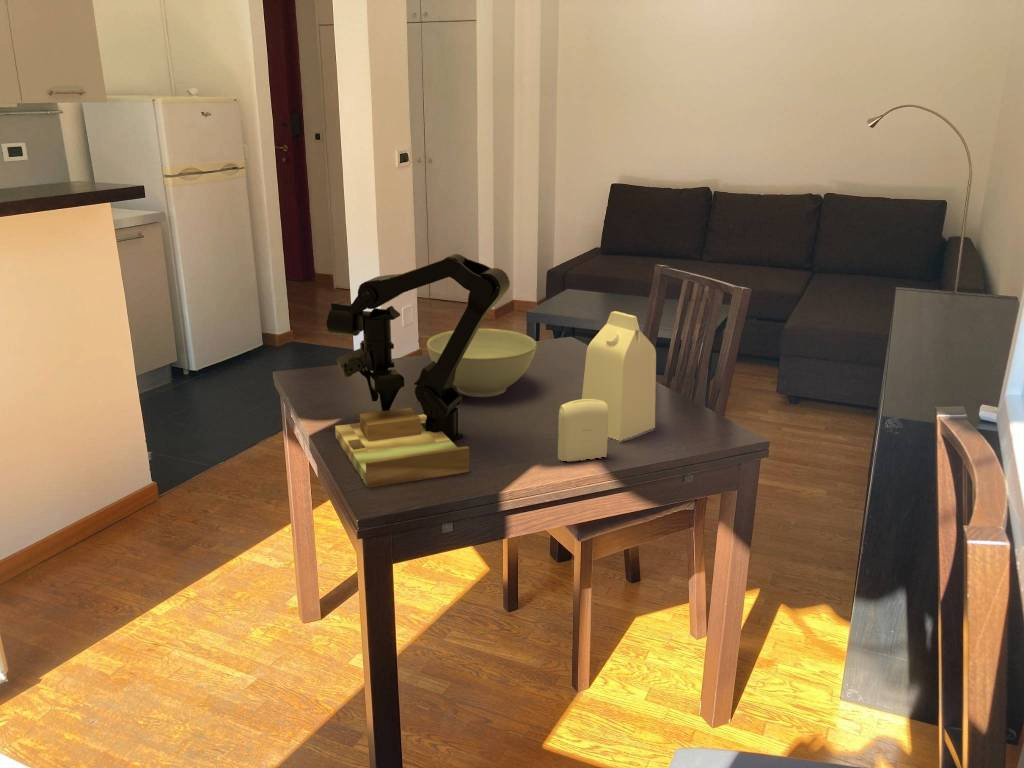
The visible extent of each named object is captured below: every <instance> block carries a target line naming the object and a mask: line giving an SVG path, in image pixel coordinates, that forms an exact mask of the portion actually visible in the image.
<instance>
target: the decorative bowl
mask: <svg viewBox="0 0 1024 768" xmlns="http://www.w3.org/2000/svg"><path fill="white" fill-rule="evenodd" d="M454 330H455V329H454ZM454 330H449V331H445V332H441V333H437V334H436V335H432V336H431V337H430V338H429V339H428V340H427V342H426V348H427V353H428V354H429V358H430V359H431V362H432V361H434V362H436V363H437V361H438V359H439V358H440V356H441V354H442V352H443V350H444V349H445V347H446V345H447V343H448V341H449V339H450V338H451V336H452V334H453V332H454ZM537 345H538V344H537V341H536V340H535V339H534V338H533V337H531V336H529V335H527V334H524V333H521V332H517V331H513V330H507V329H498V328H478V330H477V332H476V334H475V336H474V337H473V339H472V341H471V343H470V345H469V346H468V348H467V350H466V352H465V353H464V355H463V357H462V359H461V361H460V362H459V364H458V366H457V368H456V373H455V379H454V382H453V385H452V386H453V387H455V388H456V390H457V392H458V393H459V394H460V395H465V396H468V397H474V398H489V397H490V398H491V397H495V396H499V395H501V394H504V393H506V391H507V388H508V387H511V385H513V384H514V383H516V382H517V381H518V380H519V379H520V378H521V377H522V376H523V375H524V374H525V373H526V371H527V370H528V368H529V367H530V365H531V364H532V361H533V358H534V356H535V354H536V350H537Z"/></svg>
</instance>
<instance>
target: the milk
mask: <svg viewBox="0 0 1024 768" xmlns="http://www.w3.org/2000/svg"><path fill="white" fill-rule="evenodd" d="M585 355H586V356H585V365H584V376H583V384H582V394H581V399H595V400H601V401H604V402H605V403H606V404H607V406H608V412H609V416H608V437H610V438H613V439H616V440H619V441H621V440H623V439H626V438H628V437H632V436H634V435H637V434H639V433H642V432H644V431H647V430H649V429H652V428H655V429H656V388H657V387H656V381H657V350H656V348H655V346H654V345H653V343H652V342H651V341H650V340H649V339H648V338H647V336H645V334H643V332H642V331H641V330H640V326H639V323H638V318H637V316H636V315H633V314H628V313H626V312H621V311H616V310H614V311H611V312H610V313H609V316H608V319H607V321H606V323H605V325H604V326H603V327H602V328H601V329H600V330H599V332H598V333H597V334H596V335H595V336H594V337H593V339H592V340H591V341H590V343H589V344H588V346H587V349H586V353H585Z"/></svg>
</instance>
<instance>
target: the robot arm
mask: <svg viewBox="0 0 1024 768" xmlns="http://www.w3.org/2000/svg"><path fill="white" fill-rule="evenodd" d="M448 278H450V279H453V281H455V282H456V283H458V284H459V285H460V286H461V287H463V288H464V289H465V290H467V291H469V293H468V295H467V302H466V308H465V310H464V312H463V314H462V316H461V318H460V320H459V321H458V323H457V325H456V327H455V328H454V332H453V334H452V336H451V338H450V339H449V341H448V343H447V345H446V347H445V349H444V350H443V352H442V354H441V356H440V358H439V359H438V361H437V363H436V362H434V361H432V360H431V362H430V363H428V364H427V365H426V366H424V367H422V369H421V372H420V374H419V376H418V377H419V378H418V379H417V381H415V382H414V383H413V384H414V386H416V387H415V388H414V395H415V398H416V399H417V401H418V402H419V404H420V407H421V409H422V411H423V414H425V415H426V416H427V419H426V431H430V432H433V433H436V432H443V433H444V434H445V435H446V436H447V437H448V438H449V439H450V440H451V441H452V442H453V441H456V440H459V439H462V438H463V437H464V434H463V433H460V432H459V408H458V406H459V405H460V404H461V402H462V399H463V396H462V394H461V393H460V392H458V391H457V388H456V387H455V386H454V385H453V382H454V379H455V373H456V368H457V366H458V364H459V362H460V361H461V359H462V357H463V355H464V353H465V352H466V350H467V348H468V346H469V345H470V343H471V341H472V339H473V337H474V336H475V334H476V332H477V330H478V329H480V326H481V324H482V323H483V321H484V319H485V318H486V315H487V314H489V312H490V311H491V310H493V308H494V307H495V306H496V305H497V304H498V302H500V300H501V299H502V298H503V296H504V295H505V294H506V293H507V292H508V290H509V288H510V282H511V281H510V280H509V276H508V275H507V273H506V272H505V271H504V270H502V269H500V268H499V267H489V266H488V265H486V264H484V263H481V262H478V261H474V260H471V259H469V258H467V257H465V256H463V255H462V254H460V253H459V254H458V253H453V254H451V255H448V256H447V257H445V258H442V259H440V260H437V261H434V262H432V263H429V264H426V265H423V266H420V267H418V268H414V269H412V270H409V271H405V272H404V273H396V274H385V275H380V276H375V277H373V278H371V279H369V280H367V281H364V282H362V283H361V284H360V285H359V286H358V290H357V296H356V297H355V299H354V300H353V302H352V303H348V302H344V301H343V302H342V301H333V302H332V303H331V304H330V310H329V312H328V315H327V319H326V328H327V330H328V331H327V332H328V333H330V334H333V335H334V334H335V335H343V336H352V337H357V336H359V335H360V333H361V332H362V333H363V340H361V342H359V346H360V347H359V348H357V349H355V350H354V349H353V350H352V351H350V352H348V353H347V352H346V354H343V355H341V356H338V357H337V358H336V362H337V364H338V366H339V369H340V372H341V373H342V375H343V376H344V378H349V377H351V376H353V374H356V373H358V372H359V373H360V374H361V376H363V377H364V378H365V382H366V384H367V389H368V391H369V395H370V398H371V401H372V402H377V401H378V400H379V405H380V411H387V410H391V407H392V405H393V403H394V401H395V399H396V396H397V395H398V393H399V391H400V390H401V389H402V388H404V387H405V377H404V376H403V375H402V374H401V373H400V372H399V371H398V370H397V369H393V368H395V362H394V361H393V360H392V359H393V357H392V350H394V349H395V344H394V343H393V342H392V327H391V326H392V324H391V322H392V321H394V320H396V319H397V318H399V317H401V313H400V312H399V311H398V310H396V309H395V307H394V306H392V305H390V306H389V307H386V308H380V307H382V305H385V304H387V303H389V302H390V301H393V300H394V299H396V298H398V297H399V296H401V295H402V294H404V293H406V292H409V291H411V290H416V289H418V288H421V287H424V286H427V285H430V284H433V283H436V282H438V281H441V280H444V279H448ZM378 307H379V308H378ZM366 309H368V310H371V311H368V310H367V311H366Z"/></svg>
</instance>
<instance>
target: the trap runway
mask: <svg viewBox="0 0 1024 768" xmlns="http://www.w3.org/2000/svg"><path fill="white" fill-rule="evenodd" d="M417 415H418V416H419V417H420V418H421V434H419V435H412V436H405V437H398V438H390V439H383V440H376V441H368V440H367V439H366V437H365V436H364V434H363V433H362V431H361V430H360V422H354V423H349V424H348V423H347V424H340V425H334V429H335V438H336V440H337V441H339V442H338V443H339V445H340V446H341V448H342V449H343V452H344V453H345V455H346V456H347V457H348V459H349V460H350V462H351V464H352V466H353V467H354V468H355V470H356V471H357V473H358V475H359V477H360V478H361V480H362V479H363V480H362V481H363V483H364V485H365V486H366V488H367V489H371V487H372V488H376V487H377V488H378V487H384V486H391V485H396V484H401V483H408V482H415V481H416V482H417V481H421V480H427V479H434V478H439V477H444V476H451V475H458V474H464V473H469V472H470V447H469V446H467V445H466V446H465V445H464V446H459V447H458V446H457V445H456V444H455V443H454V442H453V441H451V440H450V439H449V438H448V437H447V436H446V435H445V434H444V433H443V432H436V433H433V432H430V431H426V419H427V416H426V415H425V414H424V413H423V414H417Z"/></svg>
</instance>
